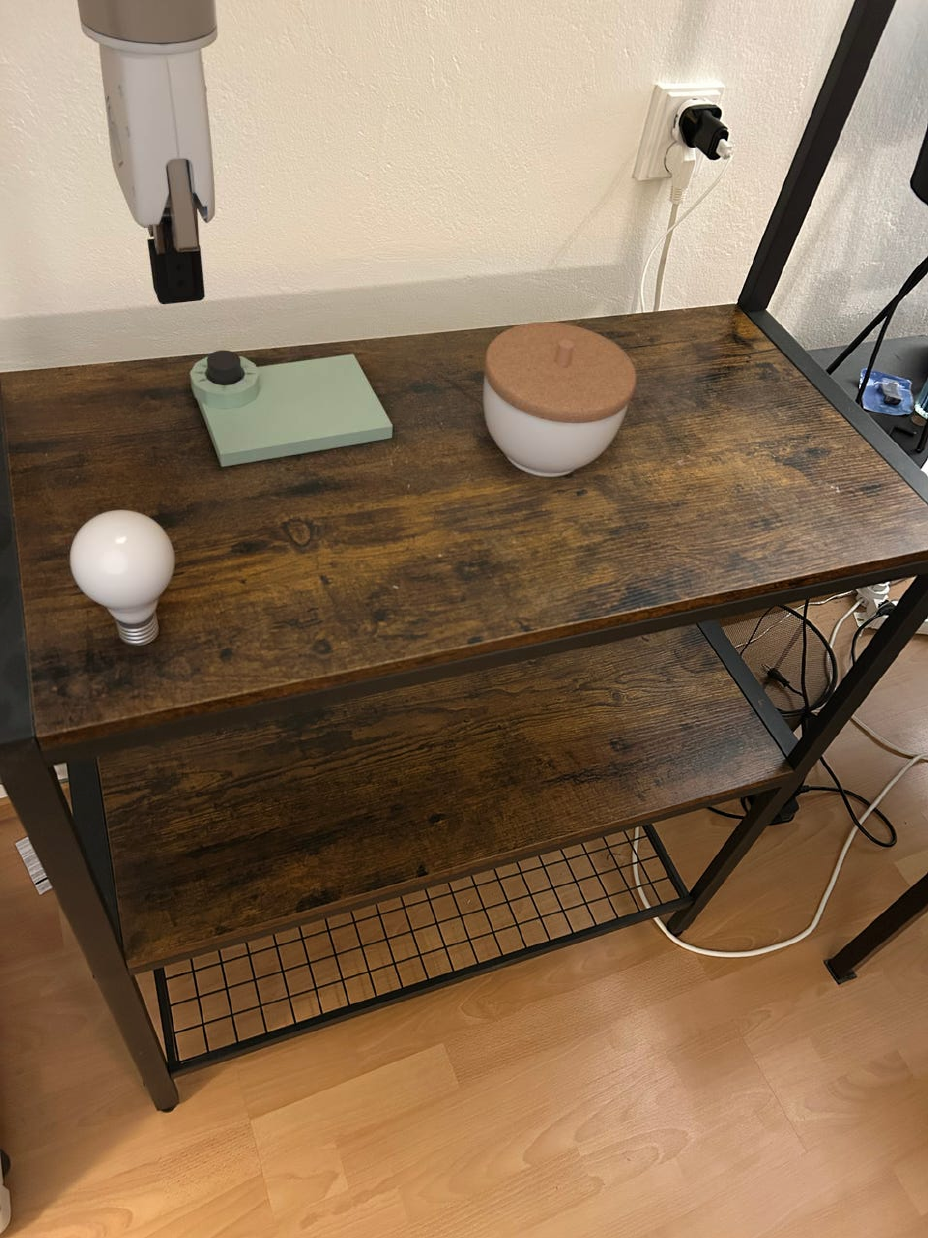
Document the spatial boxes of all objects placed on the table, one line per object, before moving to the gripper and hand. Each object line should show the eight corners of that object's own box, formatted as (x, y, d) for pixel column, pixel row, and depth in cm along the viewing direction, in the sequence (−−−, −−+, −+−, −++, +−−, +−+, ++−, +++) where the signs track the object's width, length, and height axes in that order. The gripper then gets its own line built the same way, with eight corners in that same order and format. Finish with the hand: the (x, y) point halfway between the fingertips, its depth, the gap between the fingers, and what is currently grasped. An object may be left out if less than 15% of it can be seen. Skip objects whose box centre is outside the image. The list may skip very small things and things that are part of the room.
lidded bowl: (454, 414, 89) (468, 306, 80) (580, 400, 92) (606, 295, 84) (499, 507, 81) (520, 398, 73) (635, 488, 85) (669, 382, 76)
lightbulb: (143, 589, 71) (119, 475, 63) (206, 633, 69) (190, 521, 61) (72, 640, 67) (37, 526, 59) (137, 688, 65) (110, 576, 57)
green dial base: (217, 467, 80) (214, 439, 78) (188, 387, 87) (184, 358, 85) (392, 438, 85) (393, 410, 83) (351, 364, 92) (352, 336, 90)
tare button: (212, 388, 83) (210, 371, 82) (205, 369, 85) (203, 352, 83) (245, 383, 84) (243, 366, 82) (237, 365, 85) (236, 348, 84)
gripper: (57, -43, 58) (105, 248, 71) (101, 53, 49) (146, 363, 63) (185, -41, 60) (207, 239, 74) (247, 50, 52) (260, 349, 65)
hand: (179, 295), depth 68 cm, fingers closed
